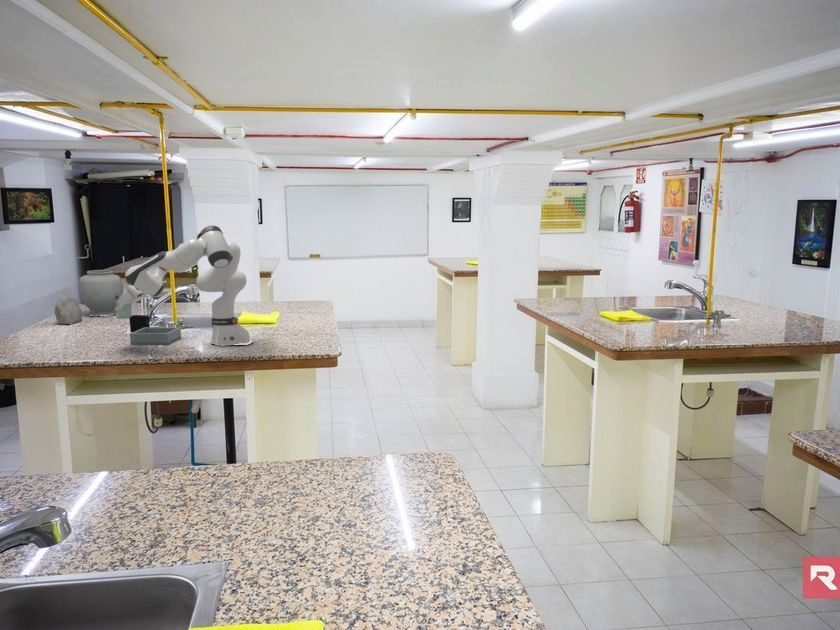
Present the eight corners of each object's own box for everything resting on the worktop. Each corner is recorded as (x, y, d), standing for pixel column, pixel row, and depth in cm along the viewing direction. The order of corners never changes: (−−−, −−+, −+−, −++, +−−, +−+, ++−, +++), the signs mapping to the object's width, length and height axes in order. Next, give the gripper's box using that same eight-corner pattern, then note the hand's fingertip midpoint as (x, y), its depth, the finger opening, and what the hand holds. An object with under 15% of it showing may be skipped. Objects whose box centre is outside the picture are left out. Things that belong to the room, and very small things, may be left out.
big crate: (181, 338, 358) (180, 327, 357) (168, 344, 340) (167, 333, 339) (145, 337, 358) (144, 327, 357) (130, 344, 340) (129, 333, 339)
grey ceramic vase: (133, 313, 441) (130, 270, 436) (101, 319, 417) (98, 273, 412) (103, 311, 451) (100, 268, 446) (71, 316, 426) (67, 271, 421)
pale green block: (131, 316, 332) (130, 299, 330) (127, 318, 327) (126, 300, 325) (122, 316, 332) (120, 299, 330) (117, 318, 327) (116, 300, 325)
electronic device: (145, 333, 371) (144, 316, 369) (130, 332, 373) (129, 315, 371) (150, 332, 375) (149, 315, 373) (134, 331, 377) (133, 314, 375)
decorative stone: (67, 326, 394) (53, 325, 395) (88, 320, 413) (74, 319, 414) (65, 299, 391) (50, 298, 392) (86, 294, 410) (72, 294, 412)
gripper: (144, 281, 337) (127, 300, 338) (126, 286, 316) (108, 306, 318) (153, 290, 337) (136, 308, 339) (136, 295, 317) (118, 314, 319)
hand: (122, 307), depth 328 cm, fingers closed on pale green block, 5 cm apart
